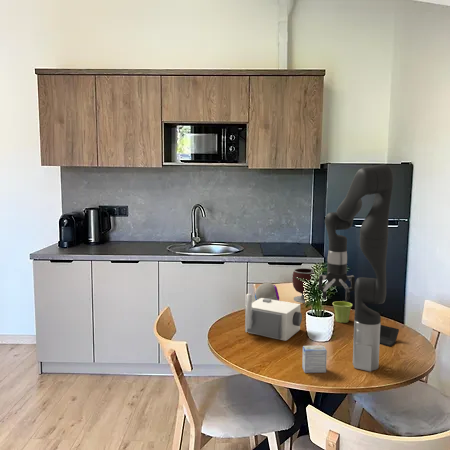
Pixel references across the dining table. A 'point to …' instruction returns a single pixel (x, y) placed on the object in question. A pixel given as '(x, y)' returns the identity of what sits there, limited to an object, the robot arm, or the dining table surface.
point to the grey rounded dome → (267, 291)
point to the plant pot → (342, 311)
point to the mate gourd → (299, 284)
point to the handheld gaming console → (388, 335)
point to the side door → (262, 321)
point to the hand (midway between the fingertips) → (335, 300)
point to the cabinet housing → (289, 315)
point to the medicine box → (314, 359)
